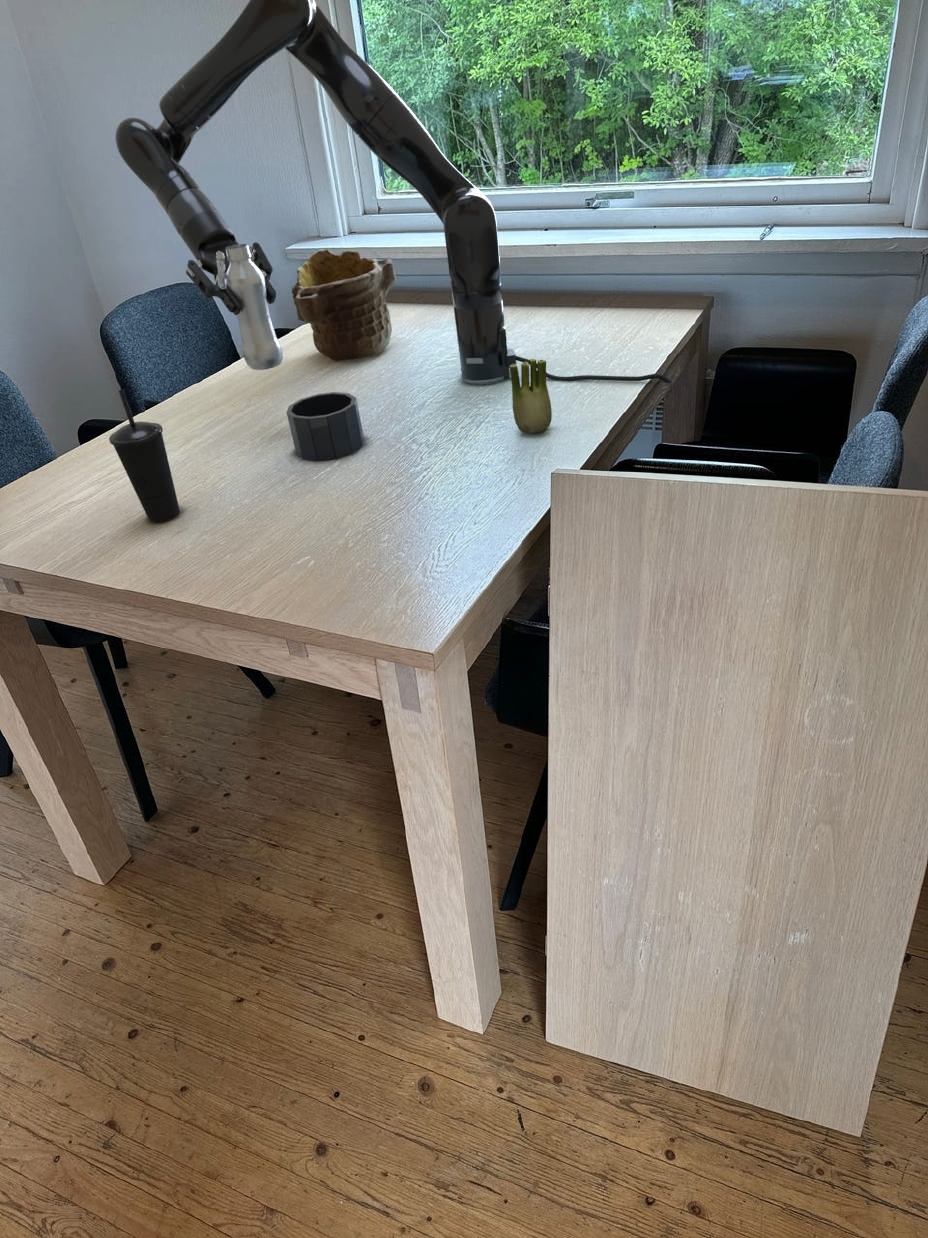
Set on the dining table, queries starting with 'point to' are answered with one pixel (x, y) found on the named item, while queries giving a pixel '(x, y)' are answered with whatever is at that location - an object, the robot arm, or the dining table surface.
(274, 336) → the silver water bottle
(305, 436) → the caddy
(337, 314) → the ceramic vessel
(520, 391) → the fennel bulb
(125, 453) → the drinking cup
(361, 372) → the dining table surface
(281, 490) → the dining table surface
